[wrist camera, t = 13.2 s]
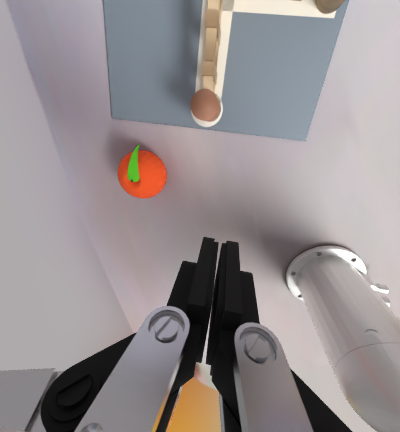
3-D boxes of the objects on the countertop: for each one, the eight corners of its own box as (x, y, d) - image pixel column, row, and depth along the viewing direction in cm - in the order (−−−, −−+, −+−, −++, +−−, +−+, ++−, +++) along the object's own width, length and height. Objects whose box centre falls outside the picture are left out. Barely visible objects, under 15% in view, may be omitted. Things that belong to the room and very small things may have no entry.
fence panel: (205, 1, 23) (196, -41, 17) (231, 1, 22) (231, -41, 17) (198, 121, 28) (189, 119, 22) (219, 122, 27) (216, 121, 22)
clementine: (130, 137, 31) (103, 140, 24) (173, 143, 30) (158, 148, 24) (131, 187, 34) (108, 201, 28) (170, 193, 34) (156, 209, 27)
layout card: (378, -97, 19) (380, -100, 18) (304, 141, 27) (305, 141, 27) (97, -102, 21) (95, -105, 21) (113, 118, 30) (111, 118, 30)
